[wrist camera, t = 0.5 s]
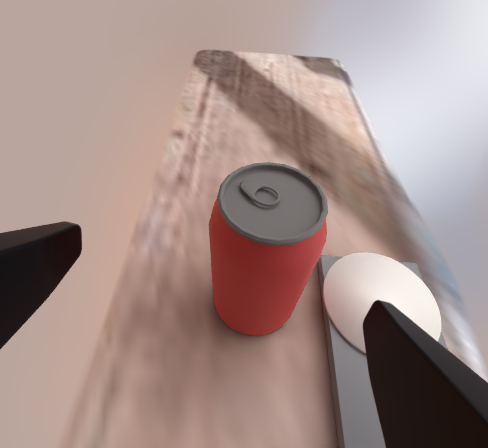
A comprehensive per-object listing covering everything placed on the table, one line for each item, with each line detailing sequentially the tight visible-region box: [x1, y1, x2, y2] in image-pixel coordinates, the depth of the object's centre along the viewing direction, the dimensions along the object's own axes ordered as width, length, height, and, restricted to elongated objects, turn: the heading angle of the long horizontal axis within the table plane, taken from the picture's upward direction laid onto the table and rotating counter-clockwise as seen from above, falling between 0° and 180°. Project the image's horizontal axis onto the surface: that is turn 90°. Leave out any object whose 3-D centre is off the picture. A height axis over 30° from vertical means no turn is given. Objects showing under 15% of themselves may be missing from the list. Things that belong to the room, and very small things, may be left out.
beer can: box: [209, 162, 328, 336], centre depth 19 cm, size 7×7×12 cm
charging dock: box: [318, 253, 448, 448], centre depth 20 cm, size 18×9×2 cm, turn 176°
